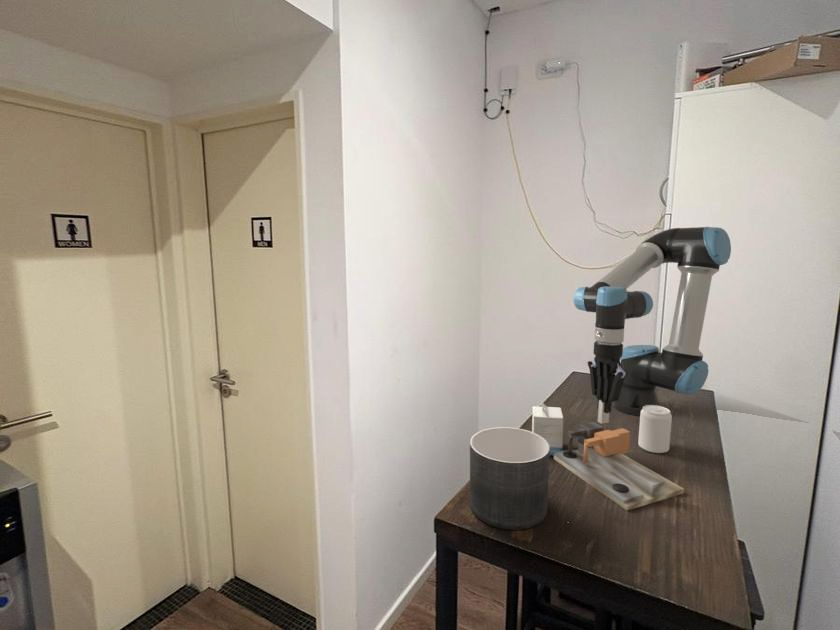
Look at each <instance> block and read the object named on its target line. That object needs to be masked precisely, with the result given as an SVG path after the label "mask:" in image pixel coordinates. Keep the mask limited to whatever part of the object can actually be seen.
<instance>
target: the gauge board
mask: <svg viewBox="0 0 840 630" xmlns="http://www.w3.org/2000/svg"><path fill="white" fill-rule="evenodd" d="M601 431H604V426H602V425H600V424H598V423H596V422H594V421H591V422H585V423H581V424H578V428H577V429H570V430H568V431H567V432H566V433H567V434H566V435H567V437H568V446H567V447H568V448H567V449H563V451H559V452H554V456H553V460H555V461H556V462H557V463H559V464H560V465H561V466H563V468H566V469H567V470H568V471H570V472H571V473H573V475H575V476H577V477H578V478H580V479H581V480H583V481H584V482H585V483H587V484H588V485H590V486H591V487H592V488H594V489H596V490H597V491H598V492H599V493H601V494H603V495H604V496H605V497H607V498H608V499H610V500H611V501H612V502H614V503H615V504H616V505H618V506H620V507H621V508H622V509H624V510H625V511H627V512H628V511H631V510H634V509H637V508H640V507H644V506H647V505H649V504H654V503H656V502H660V501H663V500H667V499H670V498H673V497H677V496H680V495H683V494H684V493H685V491H684V490H685V489H684V488H683V487H681V486H680V485H678V484H676V483H674V482H672V481H671V480H670V479H667V478H666V477H664V476H662V475H661V474H659V473H657V472H655V471H653V470H652V469H650V468H648V467H646V466H644V465H643V464H640V462H637V461H636V460H633V459H632V458H630V457H628V456H627V455H624V454H620V455H618V454H614V455H610V456H605V457H604V456H603V455H601V454H599V453H598V452H596V451H594V446H592V447H588V460H587V463H584V462H583V459H584V440H585V439H590V438H594V434H595V433H596V432H601ZM574 438H578V439H577V444H578V445H577V449H573V441H574V440H573V439H574Z"/></svg>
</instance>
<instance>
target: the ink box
mask: <svg viewBox="0 0 840 630" xmlns="http://www.w3.org/2000/svg"><path fill="white" fill-rule="evenodd" d="M562 411H563V410H562V408H561V407H559V406H558V407H556V406H555V407H554V406H547V405H546V404H545V403H544V402H543V401H540V406H538V405H536V406H535V405H534V406H532V414H531V416H532V421H531V432H533V433H535V434H538V435H539V436H541V437H543V438H544V439H545V440H546V441H547V442H548V444H549V446H550V455H549V456H552V457H554V452H559V451H563V450H564V449H563V447H564V446H563V443H564V441H563V440H564V415H563V412H562Z"/></svg>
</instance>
